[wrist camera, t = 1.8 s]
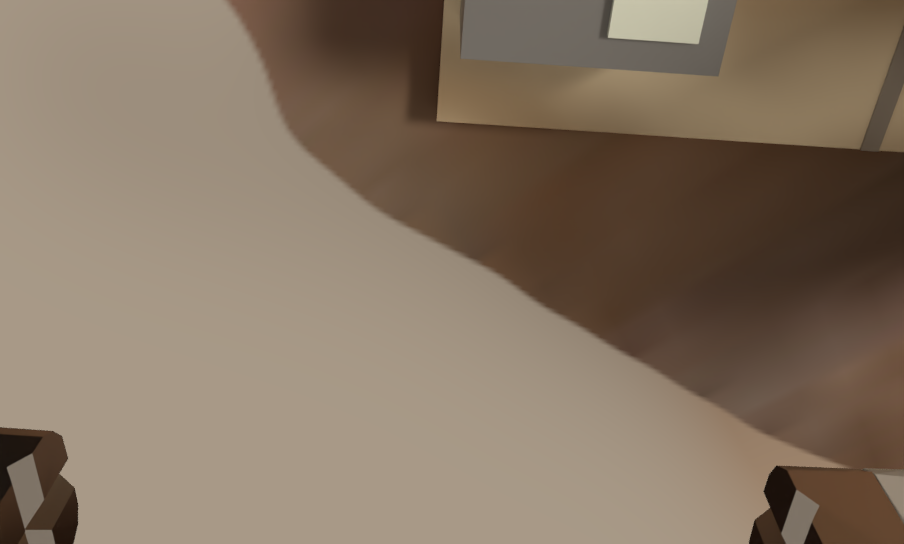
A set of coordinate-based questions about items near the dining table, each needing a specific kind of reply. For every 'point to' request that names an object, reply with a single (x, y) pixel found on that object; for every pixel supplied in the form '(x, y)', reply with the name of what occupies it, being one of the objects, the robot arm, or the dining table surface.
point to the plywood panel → (713, 83)
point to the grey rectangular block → (600, 33)
